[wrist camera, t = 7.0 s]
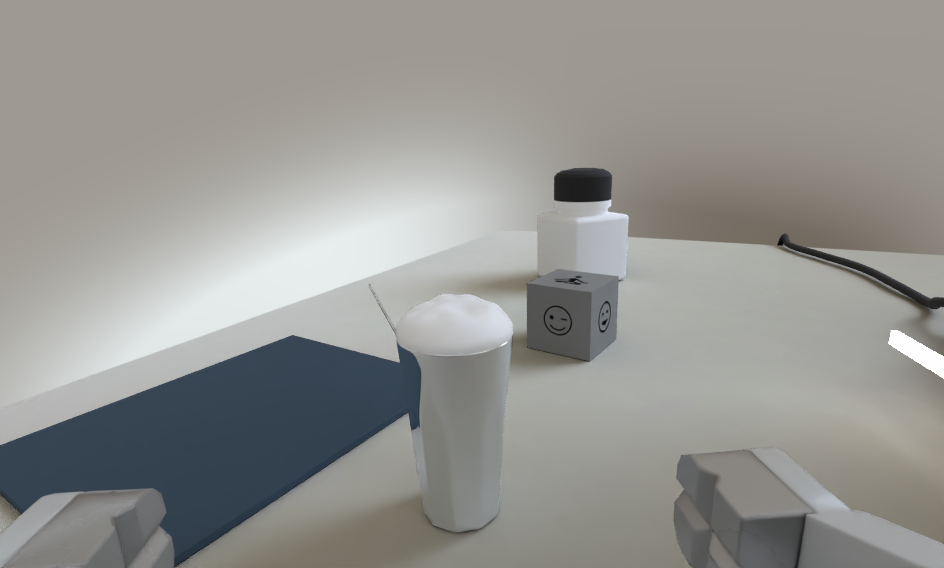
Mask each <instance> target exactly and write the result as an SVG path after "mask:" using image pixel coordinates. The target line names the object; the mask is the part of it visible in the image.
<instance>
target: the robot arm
mask: <svg viewBox="0 0 944 568" xmlns="http://www.w3.org/2000/svg"><path fill="white" fill-rule="evenodd" d="M783 244H785V246H787V247H788V248H790V249H793V250H795V251H798V252H802V253H805V254H808V255H812V256H815V257H819V258H822V259H825V260H828V261H831V262H834V263H838V264H841V265H844V266H847V267H850V268H853V269H856V270H858V271H861V272H863V273H866V274H868V275H870V276H872V277H874V278H876V279H878V280H880V281H882V282H883V283H885V284H887V285H889V286H891V287H892V288H894V289H896V290H898V291H900V292H901V293H903V294H905V295H907V296H908V297H910V298H912V299H914V300H915V301H917V302H919V303H921V304H922V305H924V306H926V307H929V308H931V309H938V308H940V307H944V298H940V297H935V298H932V299H931V298H928V297H926V296H924V295H922V294H921V293H919V292H917V291H915V290H913V289H911V288H910V287H908V286H906V285H904V284H902V283H900V282H898V281H896V280H894V279H892V278H890V277H889V276H887V275H885V274H883V273H881V272H879V271H877V270H875V269H873V268H870V267H868V266H865V265H863V264H860V263H857V262H854V261H851V260H848V259H844V258H841V257H837V256H834V255H831V254H827V253H824V252H821V251H817V250H814V249H810V248H806V247H802V246H799V245H796V244H794V243H791V242H790V240H789V237H788V235H787V234H783V235H782V236H781V237H780V239H779V241H778V244H777V246H783ZM889 344H890V345H891V346H893V347H895V348H896V349H898V350H899V351H901V352H903V353H904V354H906V355H907V356H909V357H911V358H912V359H914V360H916V361H917V362H919V363H920V364H922V365H924V366H925V367H927V368H928V369H930V370H932V371H933V372H935V373H936V374H938V375H940V376H941V377H943V378H944V357H943V356H941V355H939V354H937V353H936V352H934V351H932V350H930V349H929V348H927V347H925V346H923V345H922V344H920V343H918V342H916V341H915V340H913V339H911V338H909V337H908V336H906V335H904V334H902V333H900V332H899V331H891V336H890V341H889ZM676 478H677V480H678V481H679V482H680V484H681V485H682V487H683V488H684V489H685V490H684V491H683V492H682V494H681V495H680V496H679V497H678V498H677V500H676V501H675V502H674V525H675V531H676V536H677V540H678V543H679V545H680V548H681V551H682V553H683V555H684V556H685V558H686V560H687V561H688V563H689V565H690V566H691V567H693V568H944V544H943V543H941V542H938V541H936V540H934V539H931V538H929V537H926V536H924V535H921V534H919V533H917V532H914V531H912V530H909V529H907V528H904V527H902V526H900V525H897V524H895V523H892V522H890V521H887V520H885V519H883V518H880V517H878V516H875V515H873V514H870V513H868V512H866V511H863V510H860V511H852V510H851V509H850V508H848V507H847V506H846V505H845V504H844V503H843V502H841V501H840V500H839V499H838V498H837V497H836V496H835V495H833V494H832V493H831V492H830V491H829V490H828V489H826V488H825V487H824V486H823V485H822V484H821V483H820V482H818V481H817V480H816V479H815V478H814V477H813V476H812V475H810V474H809V473H808V472H807V471H806V470H805V469H803V468H802V467H801V466H800V465H799V464H798V463H797V462H795V461H794V460H793V459H792V458H791V457H790V456H788V455H787V454H786V453H785V452H784V451H783V450H781V449H778V448H775V447H763V448H753V449H743V450H738V451H726V452H714V453H702V454H690V455H681V458H680V460H679V462H678V467H677V477H676ZM165 514H166V508H165V504H164V500H163V497H162V493H160V492H158V491H157V490H155V489H154V488H151V489H128V490H105V491H88V492H82V491H81V492H67V493H54V494H50V495H47V496H43V497H41V498H40V499H39V500H37V501H36V502H35V503H34V504H33V505H32V506H31V507H29V508H28V509H27V510H26V511H25V512H24V513H23V514H21V515H20V516H19V517H18V518H17V519H16V520H15V521H13V522H12V523H11V524H10V525H9V526H8V527H7V528H5V529H4V530H3V531H2V532H1V533H0V568H174V546H173V541H172V537H171V536H170V535H169V534H168V533H166V532H165V531H164V530H163V529H162V528H161V527H160V526H159V524H160V522H161V521H162V519H163V517H164V516H165Z"/></svg>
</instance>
